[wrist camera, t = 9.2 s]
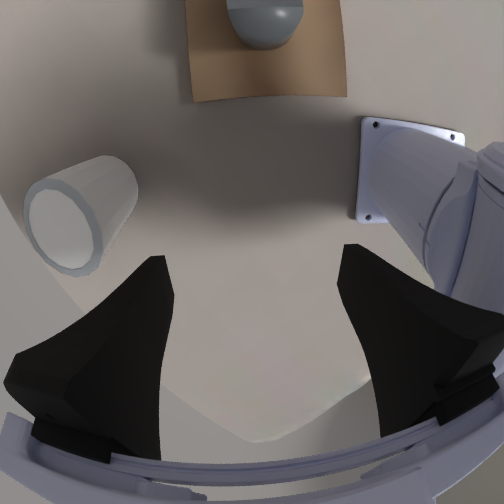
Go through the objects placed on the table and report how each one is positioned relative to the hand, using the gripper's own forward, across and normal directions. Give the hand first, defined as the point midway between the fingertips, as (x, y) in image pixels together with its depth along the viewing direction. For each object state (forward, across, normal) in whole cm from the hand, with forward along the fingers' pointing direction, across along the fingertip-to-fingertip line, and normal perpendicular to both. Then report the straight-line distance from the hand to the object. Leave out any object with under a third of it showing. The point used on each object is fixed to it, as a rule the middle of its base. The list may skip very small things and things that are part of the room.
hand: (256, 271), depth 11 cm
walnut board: (+9, -2, -14) cm, 17 cm away
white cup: (+11, +11, -1) cm, 15 cm away
